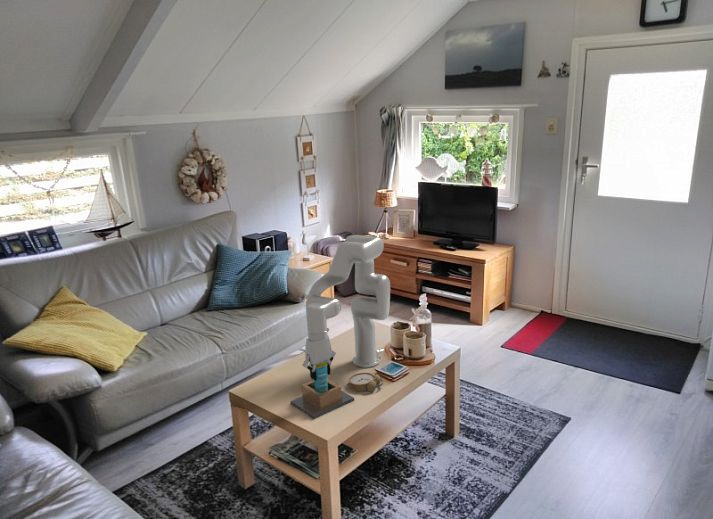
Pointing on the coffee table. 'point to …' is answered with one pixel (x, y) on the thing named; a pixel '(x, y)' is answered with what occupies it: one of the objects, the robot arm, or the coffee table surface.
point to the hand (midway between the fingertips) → (320, 376)
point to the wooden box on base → (321, 399)
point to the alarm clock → (364, 382)
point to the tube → (321, 377)
